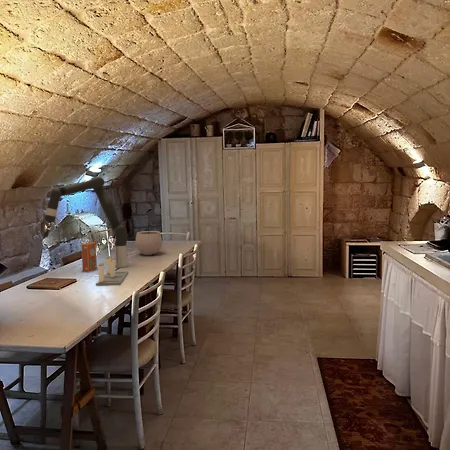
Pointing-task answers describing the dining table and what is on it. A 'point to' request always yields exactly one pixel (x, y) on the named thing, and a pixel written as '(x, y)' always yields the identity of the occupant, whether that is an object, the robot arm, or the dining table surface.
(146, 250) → the plant pot
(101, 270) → the base
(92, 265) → the orange carton box
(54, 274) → the dining table surface
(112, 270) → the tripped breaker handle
